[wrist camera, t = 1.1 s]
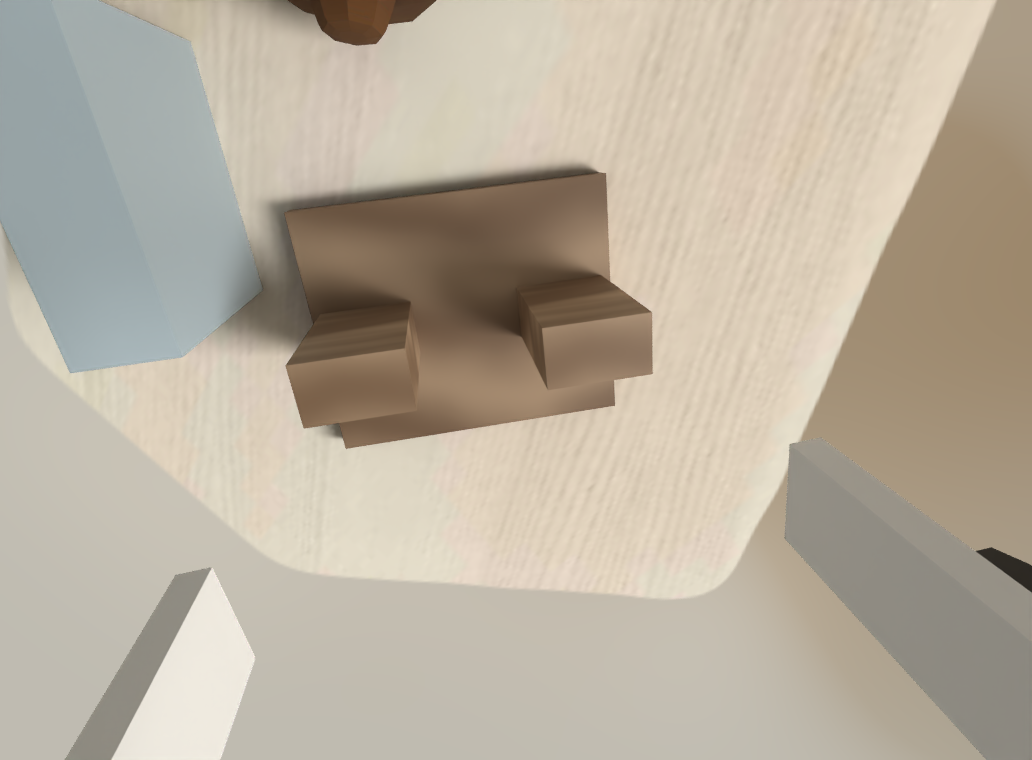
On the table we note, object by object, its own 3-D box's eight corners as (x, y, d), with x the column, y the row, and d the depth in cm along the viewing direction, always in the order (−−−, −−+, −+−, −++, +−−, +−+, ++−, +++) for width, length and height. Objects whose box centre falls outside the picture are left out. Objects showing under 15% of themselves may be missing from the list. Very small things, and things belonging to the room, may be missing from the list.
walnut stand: (289, 210, 30) (233, 234, 21) (599, 172, 31) (662, 180, 23) (348, 439, 35) (322, 530, 27) (609, 397, 37) (662, 471, 28)
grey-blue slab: (102, 50, 26) (-108, -14, 16) (190, 41, 26) (41, -26, 16) (188, 299, 31) (69, 373, 21) (263, 289, 31) (182, 357, 21)
